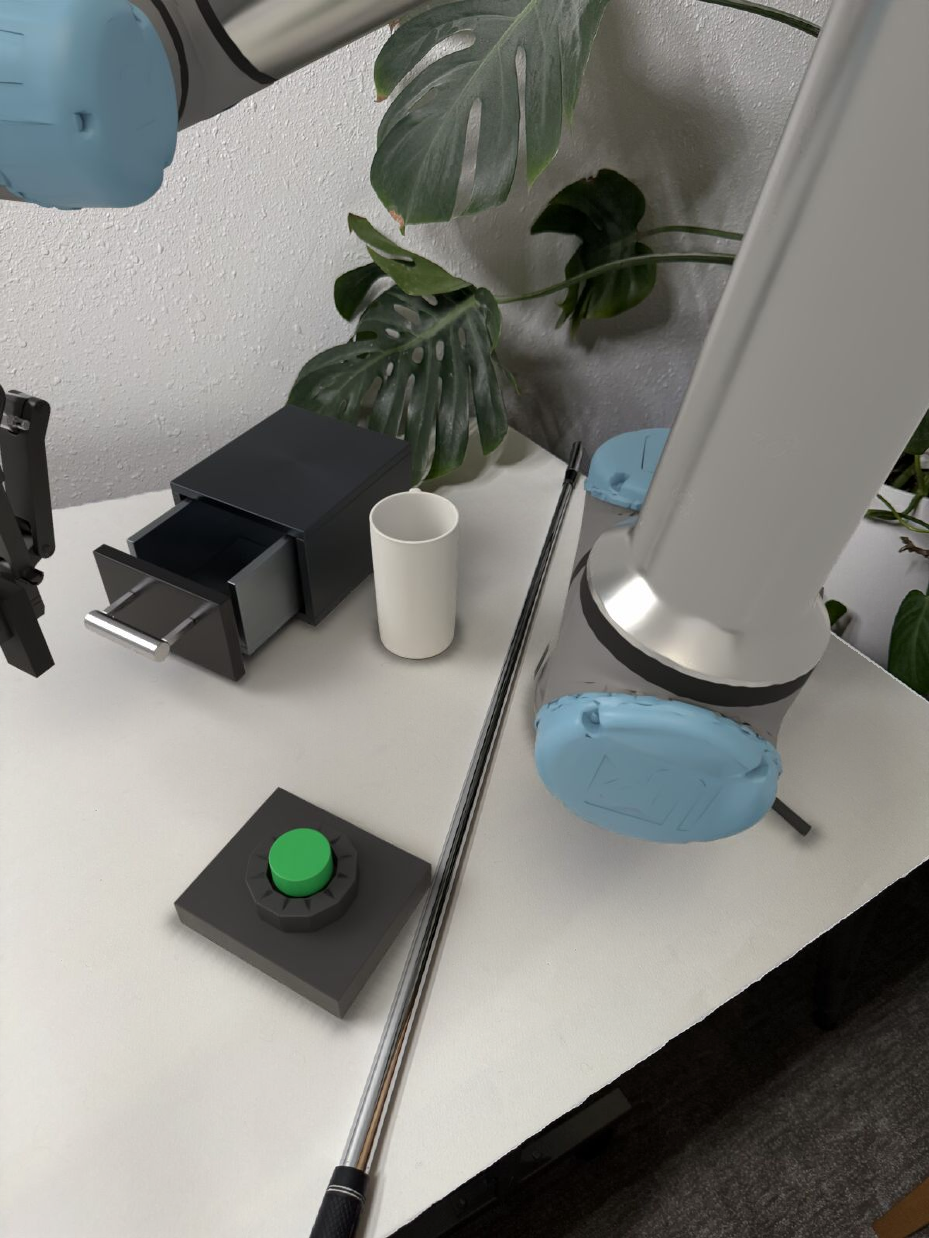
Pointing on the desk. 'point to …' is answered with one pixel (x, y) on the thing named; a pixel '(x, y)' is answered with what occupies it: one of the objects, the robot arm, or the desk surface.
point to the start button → (301, 862)
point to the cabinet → (307, 493)
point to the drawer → (199, 587)
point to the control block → (307, 903)
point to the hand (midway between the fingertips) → (31, 663)
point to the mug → (415, 571)
